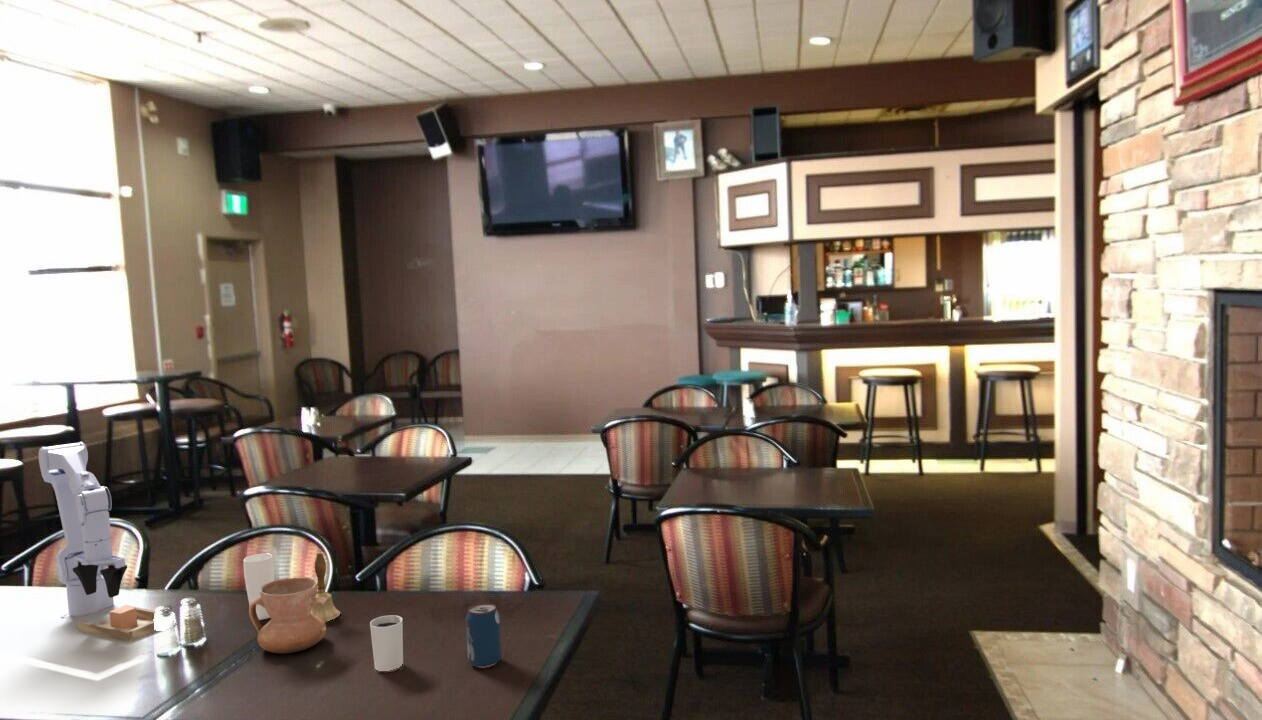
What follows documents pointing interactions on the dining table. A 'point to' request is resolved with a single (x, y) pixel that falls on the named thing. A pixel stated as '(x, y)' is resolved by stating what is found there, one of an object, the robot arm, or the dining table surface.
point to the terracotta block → (123, 617)
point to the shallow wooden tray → (122, 634)
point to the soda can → (483, 634)
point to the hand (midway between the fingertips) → (102, 594)
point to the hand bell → (323, 593)
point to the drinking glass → (258, 578)
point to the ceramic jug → (288, 615)
